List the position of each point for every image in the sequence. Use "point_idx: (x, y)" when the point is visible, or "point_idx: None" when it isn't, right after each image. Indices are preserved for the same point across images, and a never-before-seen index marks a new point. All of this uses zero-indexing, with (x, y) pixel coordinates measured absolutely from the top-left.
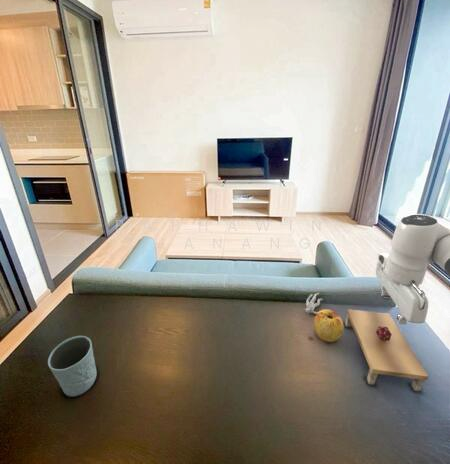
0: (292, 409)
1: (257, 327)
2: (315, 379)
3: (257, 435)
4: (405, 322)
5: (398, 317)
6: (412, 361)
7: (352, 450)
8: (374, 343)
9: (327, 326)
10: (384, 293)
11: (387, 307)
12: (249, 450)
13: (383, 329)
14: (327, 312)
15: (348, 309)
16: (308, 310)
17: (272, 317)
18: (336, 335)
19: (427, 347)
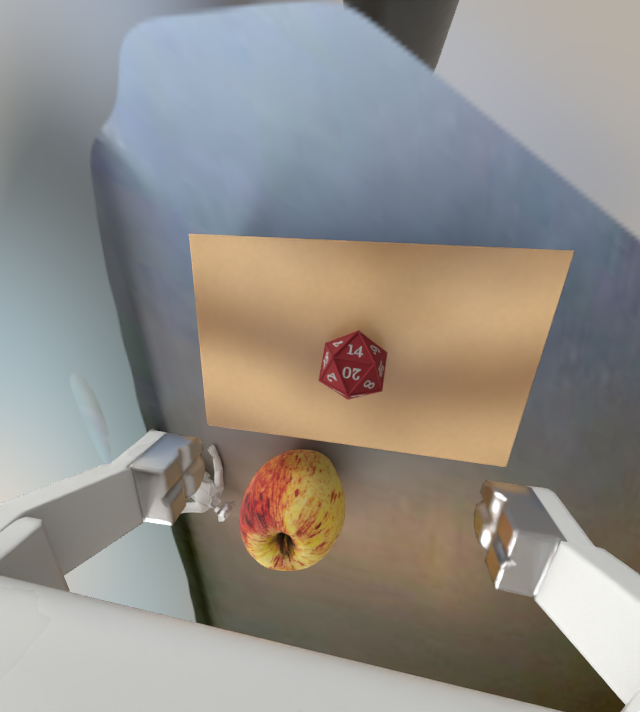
0: (520, 603)
1: (299, 610)
2: (450, 538)
3: (562, 666)
4: (562, 513)
5: (520, 584)
6: (486, 284)
7: (634, 527)
8: (385, 402)
9: (326, 553)
10: (142, 507)
11: (108, 160)
12: (586, 681)
13: (354, 389)
14: (265, 551)
15: (207, 421)
16: (226, 515)
17: (259, 573)
18: (342, 502)
19: (315, 80)
